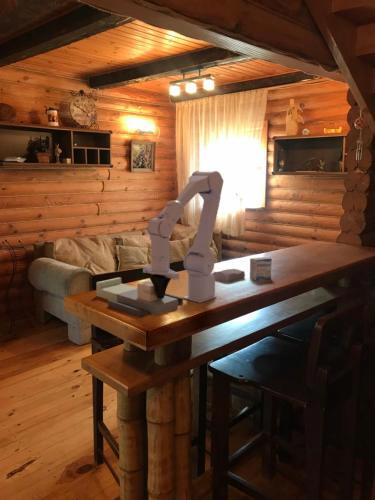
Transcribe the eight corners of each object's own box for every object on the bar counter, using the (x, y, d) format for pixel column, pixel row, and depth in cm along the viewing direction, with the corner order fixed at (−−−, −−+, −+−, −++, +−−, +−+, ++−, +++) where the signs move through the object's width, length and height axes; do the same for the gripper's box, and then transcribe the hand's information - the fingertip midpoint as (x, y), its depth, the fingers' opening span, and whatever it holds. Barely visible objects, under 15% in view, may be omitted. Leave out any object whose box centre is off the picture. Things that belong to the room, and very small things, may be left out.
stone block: (210, 283, 178) (228, 283, 171) (209, 272, 178) (227, 271, 171) (228, 279, 187) (247, 279, 180) (227, 268, 187) (245, 267, 180)
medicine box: (255, 280, 176) (256, 260, 174) (249, 278, 180) (249, 258, 178) (271, 278, 179) (272, 258, 177) (265, 276, 183) (265, 256, 181)
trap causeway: (128, 288, 164) (128, 275, 163) (187, 304, 144) (187, 290, 143) (86, 298, 150) (85, 284, 150) (144, 318, 130) (144, 303, 129)
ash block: (151, 294, 146) (150, 279, 145) (163, 297, 142) (163, 282, 141) (137, 297, 141) (137, 283, 140) (150, 301, 137) (149, 286, 136)
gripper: (135, 254, 138) (136, 295, 140) (167, 261, 128) (167, 305, 130) (151, 251, 143) (152, 291, 145) (183, 257, 133) (183, 300, 136)
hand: (160, 297), depth 138 cm, fingers closed
